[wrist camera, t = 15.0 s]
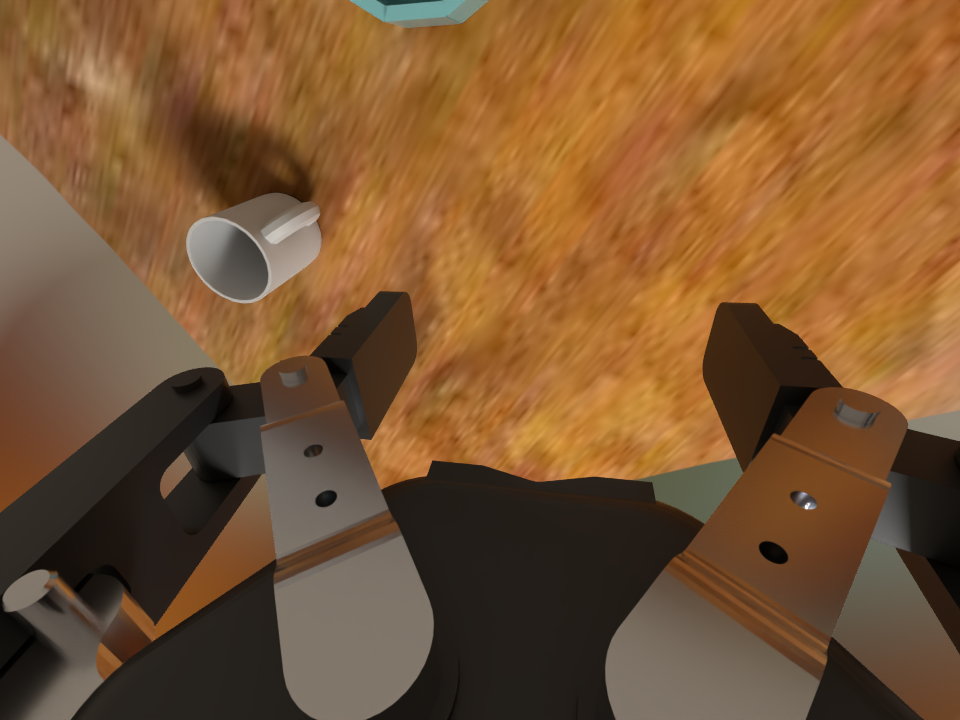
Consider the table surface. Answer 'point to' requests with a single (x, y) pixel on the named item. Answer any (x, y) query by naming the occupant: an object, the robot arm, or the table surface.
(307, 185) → the table surface
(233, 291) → the cup
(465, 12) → the bowl
